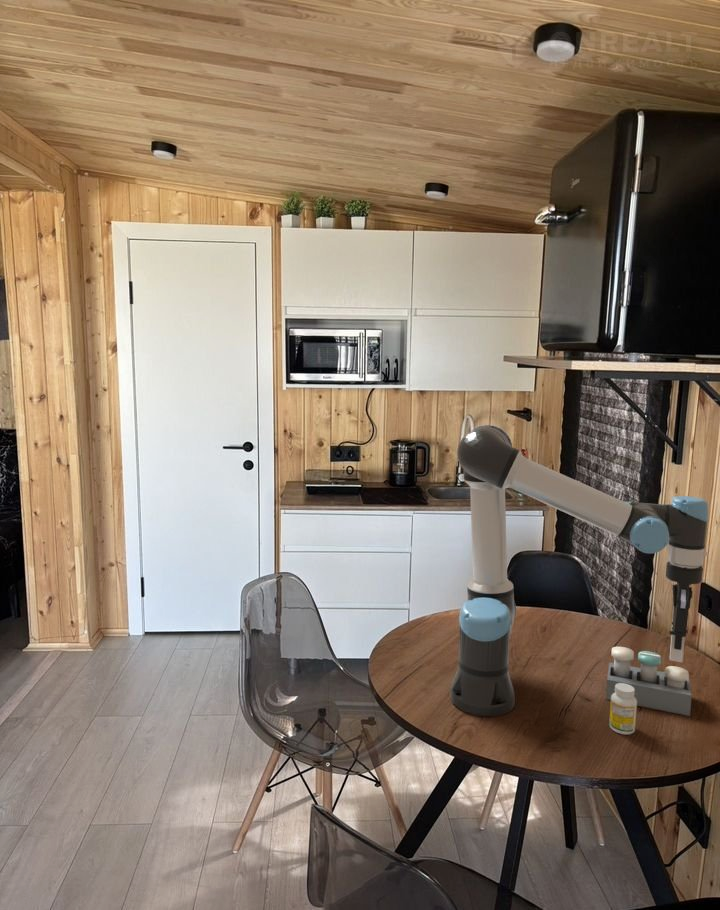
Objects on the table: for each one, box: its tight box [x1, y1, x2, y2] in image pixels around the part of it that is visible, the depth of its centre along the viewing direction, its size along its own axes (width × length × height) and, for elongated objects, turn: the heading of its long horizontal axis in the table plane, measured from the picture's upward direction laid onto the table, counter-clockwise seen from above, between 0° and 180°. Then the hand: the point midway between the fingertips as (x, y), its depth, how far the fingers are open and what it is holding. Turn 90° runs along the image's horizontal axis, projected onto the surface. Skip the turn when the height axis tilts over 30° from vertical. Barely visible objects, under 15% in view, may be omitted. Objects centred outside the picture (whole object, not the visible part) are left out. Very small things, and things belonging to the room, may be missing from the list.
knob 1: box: [610, 646, 635, 679], centre depth 155 cm, size 5×5×6 cm
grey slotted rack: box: [605, 662, 692, 717], centre depth 153 cm, size 10×18×5 cm, turn 66°
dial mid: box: [637, 650, 662, 684], centre depth 152 cm, size 5×5×7 cm
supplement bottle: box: [609, 683, 638, 736], centre depth 139 cm, size 5×5×10 cm
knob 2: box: [664, 665, 690, 689], centre depth 150 cm, size 5×5×6 cm
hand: (675, 660), depth 149 cm, fingers closed
